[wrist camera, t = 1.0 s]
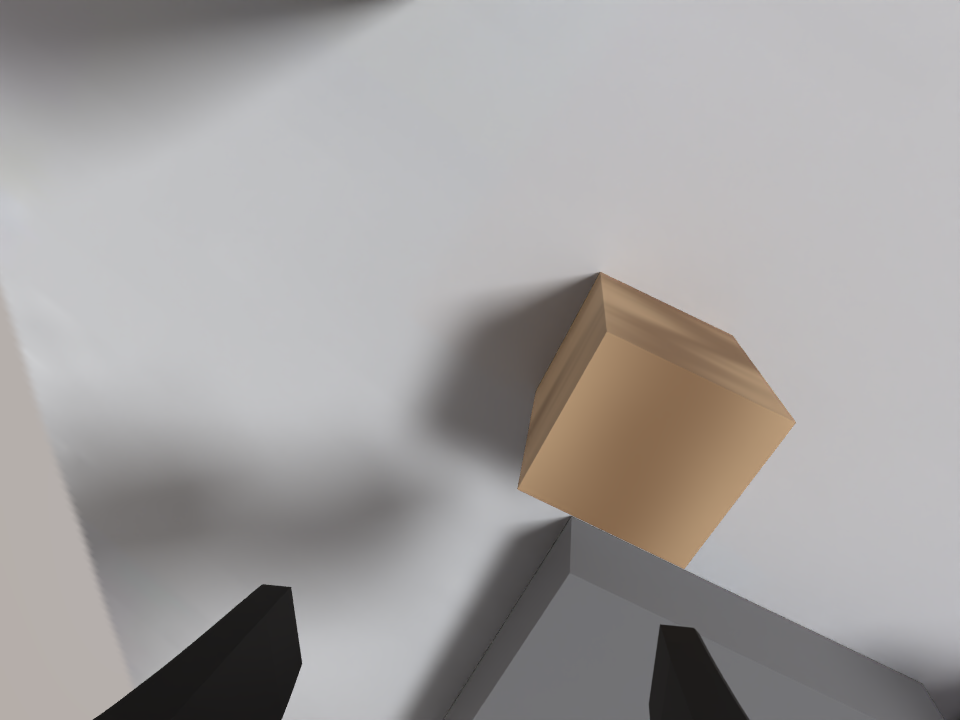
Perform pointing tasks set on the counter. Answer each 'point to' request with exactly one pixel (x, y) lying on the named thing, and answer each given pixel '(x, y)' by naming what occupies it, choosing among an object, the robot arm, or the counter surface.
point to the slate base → (633, 642)
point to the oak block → (649, 423)
